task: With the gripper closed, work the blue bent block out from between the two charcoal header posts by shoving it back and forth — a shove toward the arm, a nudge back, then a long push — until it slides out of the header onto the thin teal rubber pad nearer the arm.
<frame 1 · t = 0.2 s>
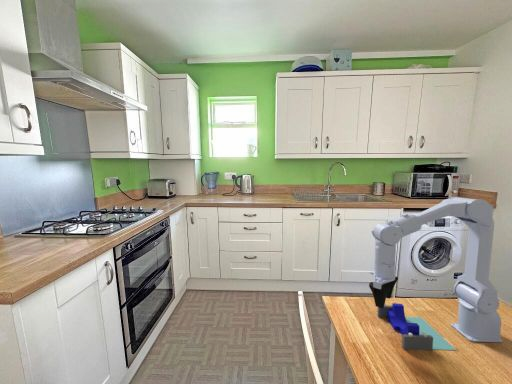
hand: (383, 302, 73), 10 cm above the table, fingers open, 7 cm apart
mat: (424, 331, 73), on the table
header: (401, 331, 74), on the table
blue bent block: (401, 331, 74), on the table, touching mat
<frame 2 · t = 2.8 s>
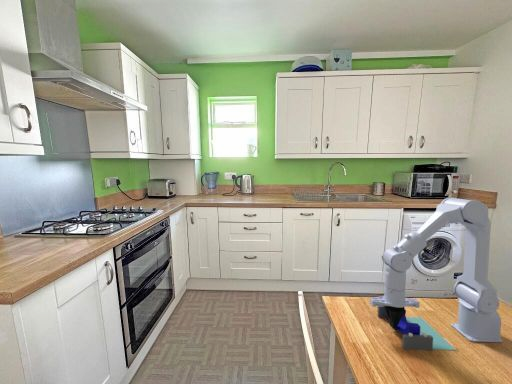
hand: (393, 327, 74), 1 cm above the table, fingers closed
blue bent block: (402, 331, 74), on the table, touching gripper
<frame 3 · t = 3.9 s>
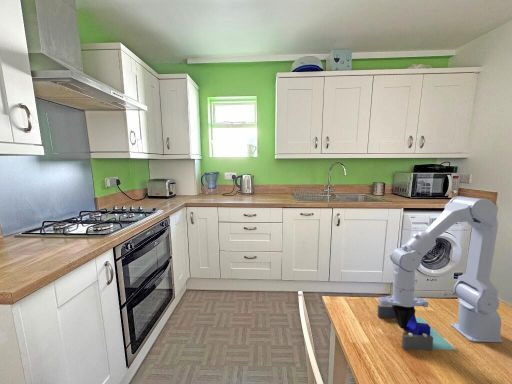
hand: (401, 326, 73), 2 cm above the table, fingers closed
blue bent block: (411, 332, 73), on the table, touching mat
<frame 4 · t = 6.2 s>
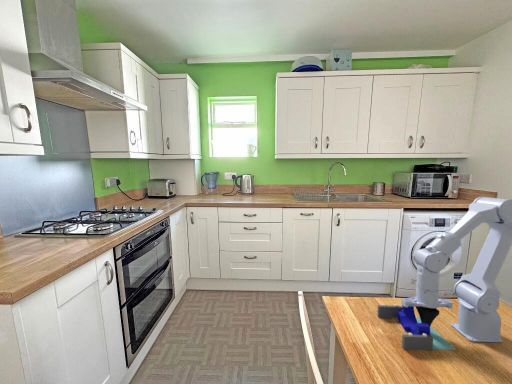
hand: (425, 327, 73), 1 cm above the table, fingers closed, pressing on blue bent block
blue bent block: (412, 332, 73), on the table, touching gripper, mat
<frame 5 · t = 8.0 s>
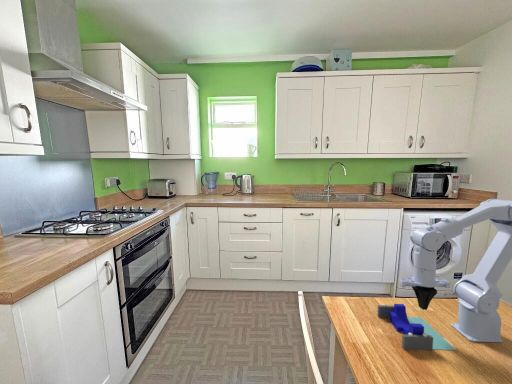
hand: (422, 308, 73), 8 cm above the table, fingers closed
blue bent block: (405, 332, 73), on the table, touching mat
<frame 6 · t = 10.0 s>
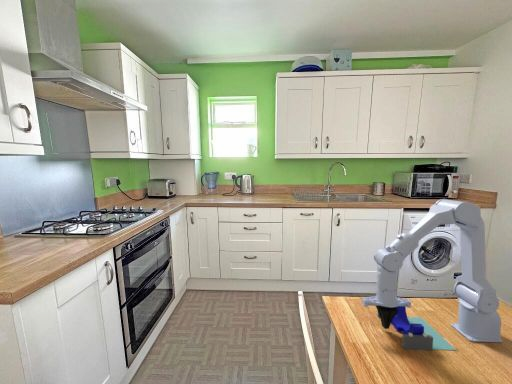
hand: (385, 326, 74), 1 cm above the table, fingers closed
nothing on the table moved.
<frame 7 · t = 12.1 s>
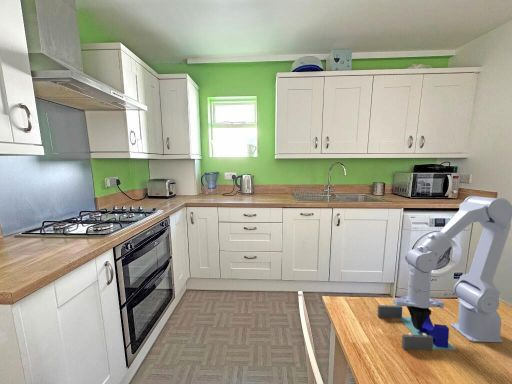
hand: (417, 327, 73), 1 cm above the table, fingers closed
blue bent block: (427, 333, 73), resting on mat, touching gripper
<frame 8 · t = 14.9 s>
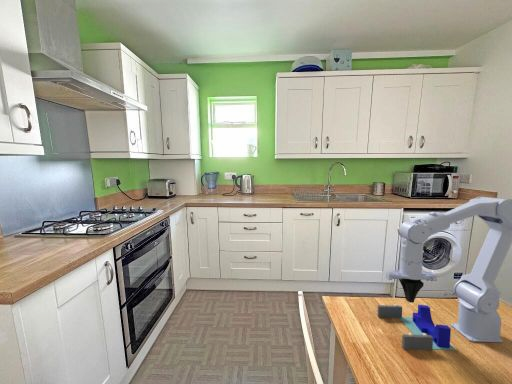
hand: (409, 300, 73), 10 cm above the table, fingers closed
blue bent block: (429, 333, 72), resting on mat
at the end: blue bent block inside the target area (1.8 cm from its centre), resting on mat; blue bent block touching mat; blue bent block moved 8.2 cm from its start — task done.
